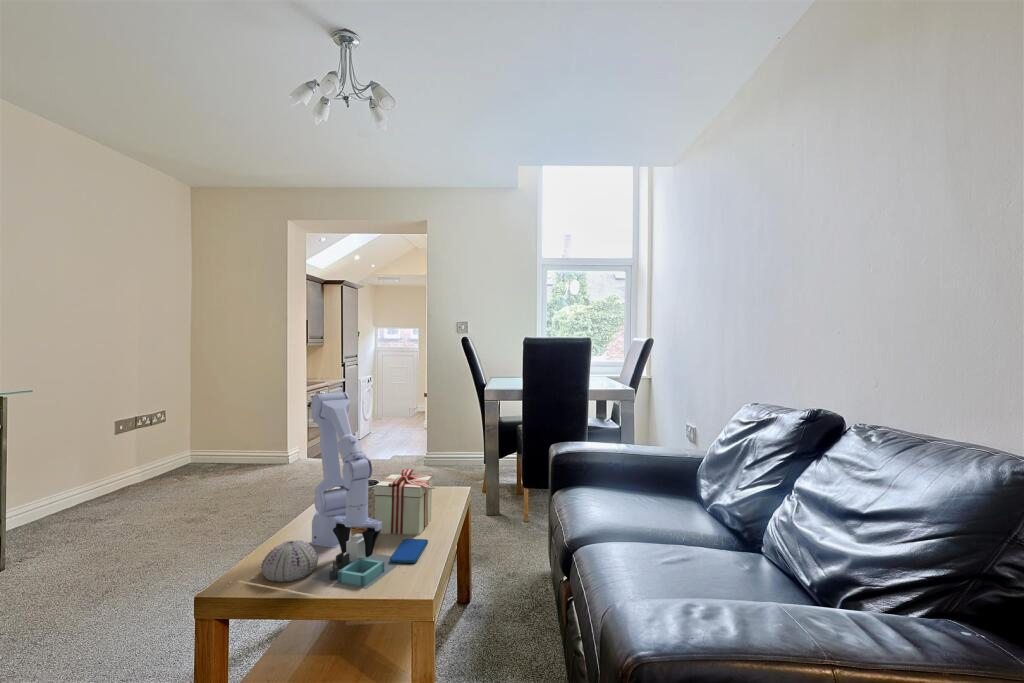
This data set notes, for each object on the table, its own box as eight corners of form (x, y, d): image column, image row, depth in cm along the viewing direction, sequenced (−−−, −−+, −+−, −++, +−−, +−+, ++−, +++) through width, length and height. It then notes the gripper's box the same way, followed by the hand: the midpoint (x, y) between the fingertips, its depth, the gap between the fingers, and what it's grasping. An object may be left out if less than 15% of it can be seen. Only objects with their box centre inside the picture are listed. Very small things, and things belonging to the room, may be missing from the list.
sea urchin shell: (326, 562, 133) (326, 532, 133) (305, 586, 120) (305, 553, 120) (276, 562, 133) (277, 532, 133) (250, 586, 120) (250, 553, 120)
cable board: (311, 580, 122) (311, 565, 122) (356, 552, 139) (356, 539, 139) (366, 590, 117) (366, 575, 117) (406, 560, 134) (406, 546, 134)
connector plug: (346, 560, 133) (346, 537, 133) (356, 553, 137) (356, 532, 137) (357, 562, 132) (357, 539, 132) (367, 555, 136) (367, 533, 136)
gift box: (432, 536, 151) (432, 479, 152) (372, 536, 152) (372, 479, 152) (441, 517, 168) (441, 466, 169) (387, 517, 169) (387, 466, 169)
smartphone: (388, 559, 131) (404, 538, 146) (388, 563, 131) (404, 542, 146) (416, 560, 131) (428, 539, 146) (416, 564, 131) (428, 542, 146)
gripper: (325, 505, 133) (324, 556, 133) (371, 510, 129) (371, 563, 129) (342, 497, 140) (341, 546, 140) (386, 502, 135) (386, 553, 135)
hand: (356, 553), depth 135 cm, fingers open, 7 cm apart
